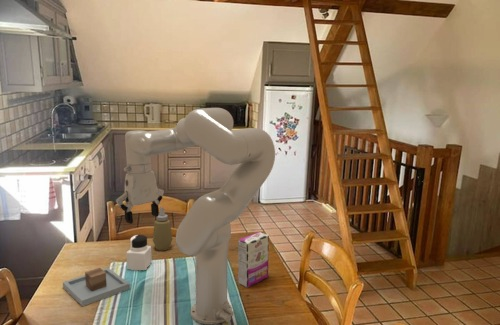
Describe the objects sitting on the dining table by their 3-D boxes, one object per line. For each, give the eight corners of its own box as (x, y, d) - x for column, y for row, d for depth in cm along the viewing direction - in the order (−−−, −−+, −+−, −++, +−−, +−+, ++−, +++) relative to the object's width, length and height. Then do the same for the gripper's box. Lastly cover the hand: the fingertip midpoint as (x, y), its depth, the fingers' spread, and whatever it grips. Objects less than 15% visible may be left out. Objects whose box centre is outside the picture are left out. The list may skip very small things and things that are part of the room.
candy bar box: (258, 273, 147) (259, 231, 144) (268, 277, 144) (269, 234, 140) (236, 283, 139) (237, 239, 136) (247, 288, 136) (247, 243, 132)
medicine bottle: (151, 263, 153) (151, 233, 151) (145, 271, 146) (144, 240, 144) (134, 261, 154) (133, 232, 152) (126, 270, 147) (125, 239, 145)
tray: (129, 288, 134) (129, 283, 133) (82, 306, 123) (81, 300, 122) (108, 272, 145) (108, 267, 144) (63, 287, 134) (62, 282, 133)
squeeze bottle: (176, 247, 169) (175, 206, 166) (163, 253, 162) (162, 211, 159) (162, 242, 173) (161, 203, 170) (149, 249, 166) (147, 208, 163)
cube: (106, 286, 133) (105, 272, 132) (91, 291, 130) (91, 277, 129) (100, 281, 137) (99, 267, 136) (85, 285, 134) (84, 272, 133)
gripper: (120, 174, 120) (124, 228, 123) (168, 166, 132) (170, 215, 135) (108, 171, 125) (112, 223, 128) (155, 163, 137) (158, 211, 140)
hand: (142, 219), depth 131 cm, fingers open, 9 cm apart
